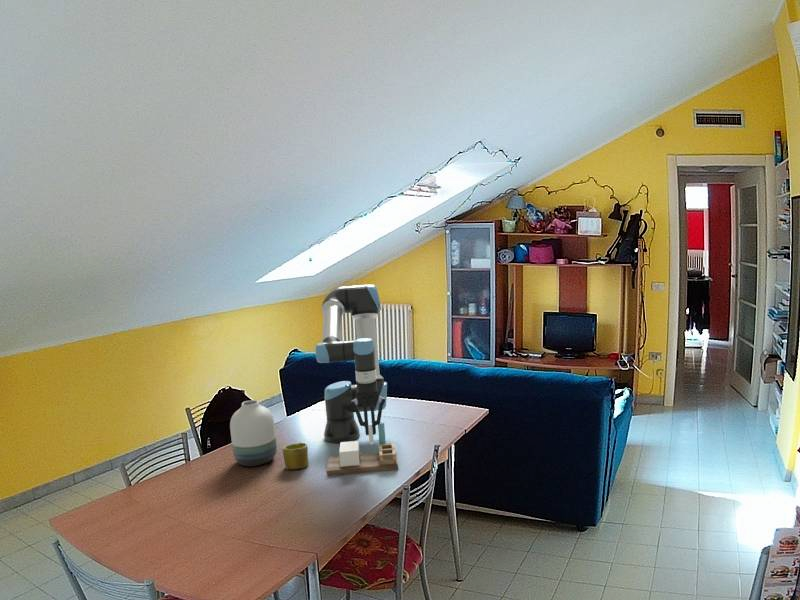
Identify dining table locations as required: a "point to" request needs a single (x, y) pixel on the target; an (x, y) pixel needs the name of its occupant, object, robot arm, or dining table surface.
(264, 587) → the dining table surface
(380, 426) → the peg
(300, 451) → the mug
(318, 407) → the dining table surface
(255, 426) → the vase
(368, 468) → the board
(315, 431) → the dining table surface
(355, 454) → the cover
